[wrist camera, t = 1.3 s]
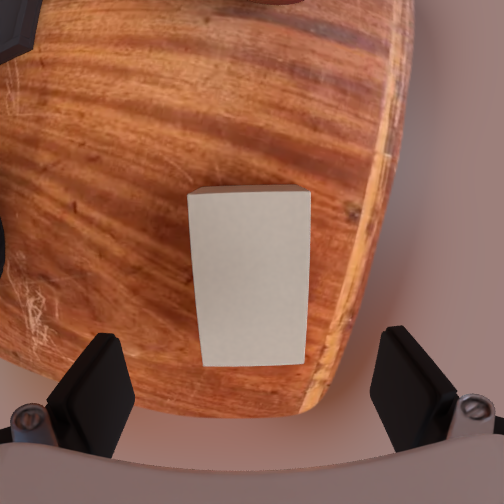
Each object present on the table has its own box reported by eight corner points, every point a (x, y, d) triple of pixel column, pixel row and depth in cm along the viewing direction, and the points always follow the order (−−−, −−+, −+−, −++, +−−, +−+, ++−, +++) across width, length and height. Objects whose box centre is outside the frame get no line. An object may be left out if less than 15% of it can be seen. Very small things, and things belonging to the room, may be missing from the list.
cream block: (211, 329, 22) (203, 366, 18) (200, 186, 19) (186, 194, 15) (294, 327, 22) (304, 364, 18) (297, 184, 19) (310, 191, 15)
